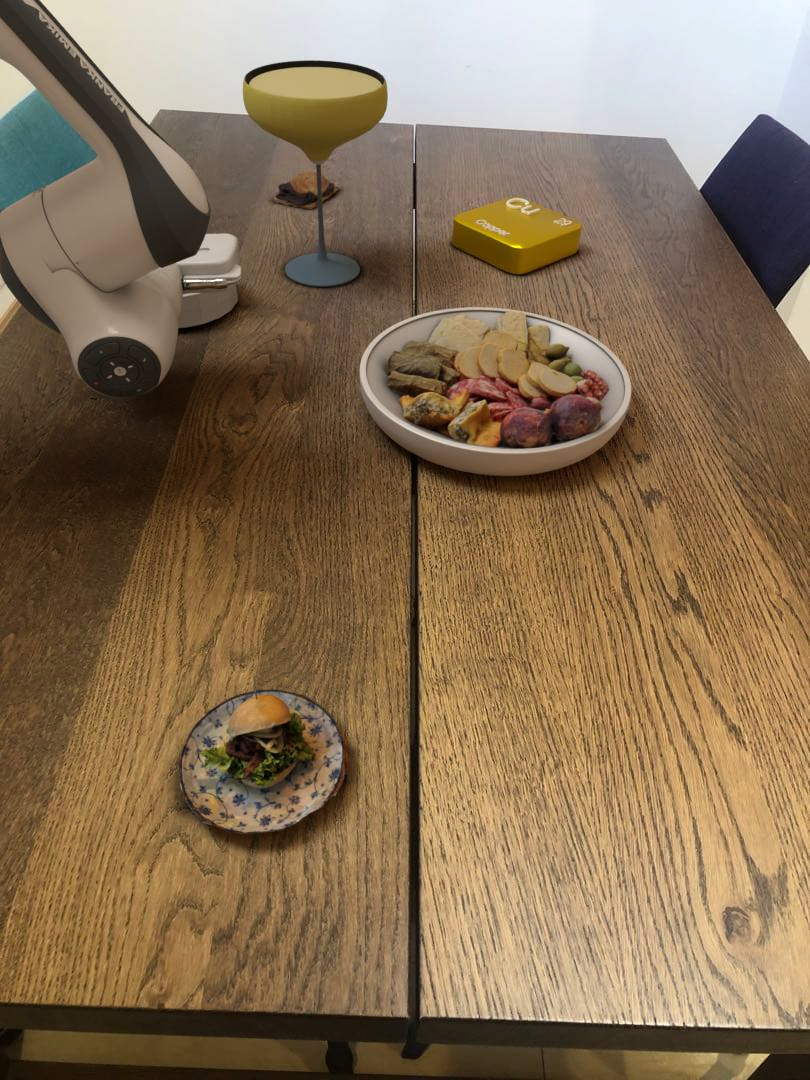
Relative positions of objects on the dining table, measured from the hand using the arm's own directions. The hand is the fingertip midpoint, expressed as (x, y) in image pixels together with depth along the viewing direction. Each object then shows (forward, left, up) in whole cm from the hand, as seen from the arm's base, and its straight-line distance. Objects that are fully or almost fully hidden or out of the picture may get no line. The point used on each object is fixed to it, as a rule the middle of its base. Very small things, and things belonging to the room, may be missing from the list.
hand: (150, 232), depth 93 cm
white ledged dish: (0, +10, -14) cm, 17 cm away
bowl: (+37, -18, -14) cm, 44 cm away
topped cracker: (+19, +48, -14) cm, 54 cm away
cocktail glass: (+20, +19, -14) cm, 31 cm away
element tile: (+50, +25, -14) cm, 58 cm away
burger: (+11, -62, -14) cm, 64 cm away
